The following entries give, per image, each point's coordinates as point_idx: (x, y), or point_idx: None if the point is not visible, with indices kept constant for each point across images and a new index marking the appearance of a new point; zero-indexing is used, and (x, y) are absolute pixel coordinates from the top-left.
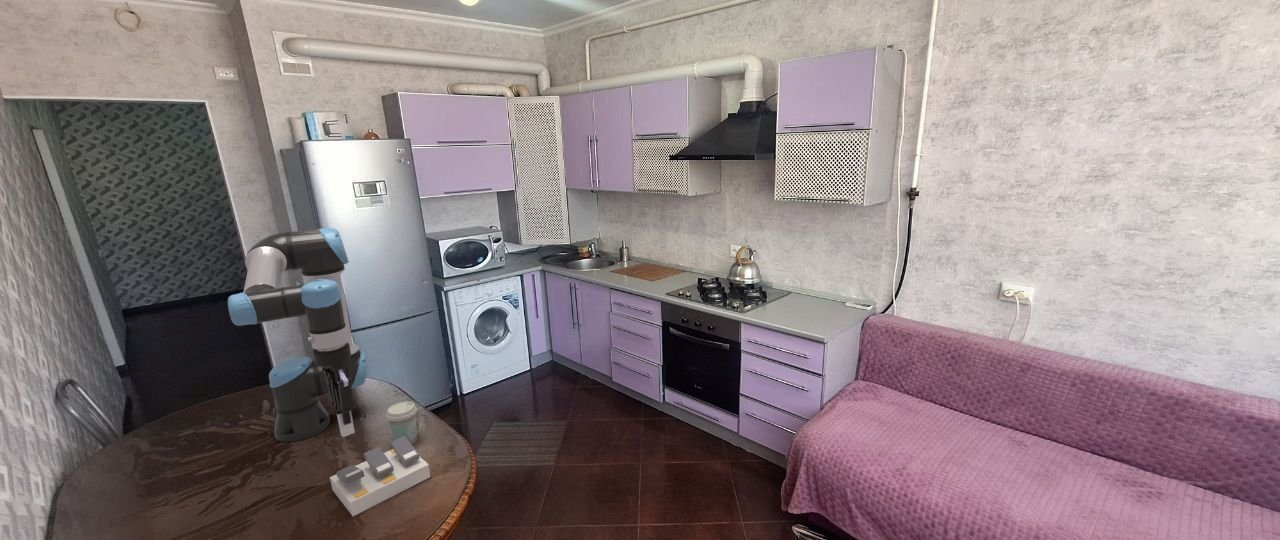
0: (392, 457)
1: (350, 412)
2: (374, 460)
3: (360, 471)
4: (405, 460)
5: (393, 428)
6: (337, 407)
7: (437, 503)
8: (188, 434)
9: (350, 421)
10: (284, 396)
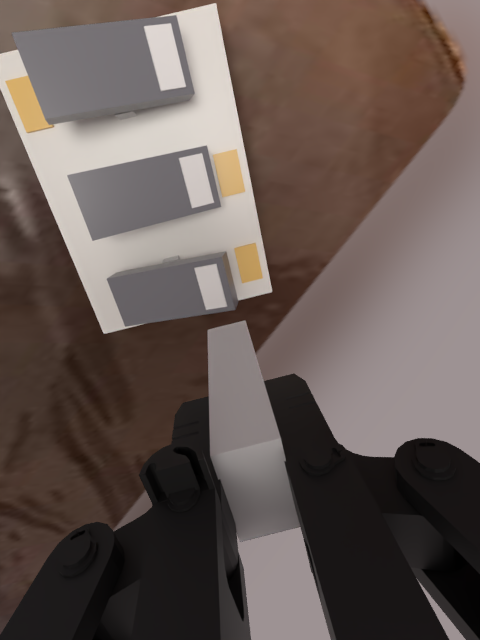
0: (81, 133)
1: (272, 415)
2: (148, 207)
3: (220, 264)
4: (189, 89)
5: None
6: (242, 574)
7: (366, 54)
8: None
9: (304, 385)
10: None
